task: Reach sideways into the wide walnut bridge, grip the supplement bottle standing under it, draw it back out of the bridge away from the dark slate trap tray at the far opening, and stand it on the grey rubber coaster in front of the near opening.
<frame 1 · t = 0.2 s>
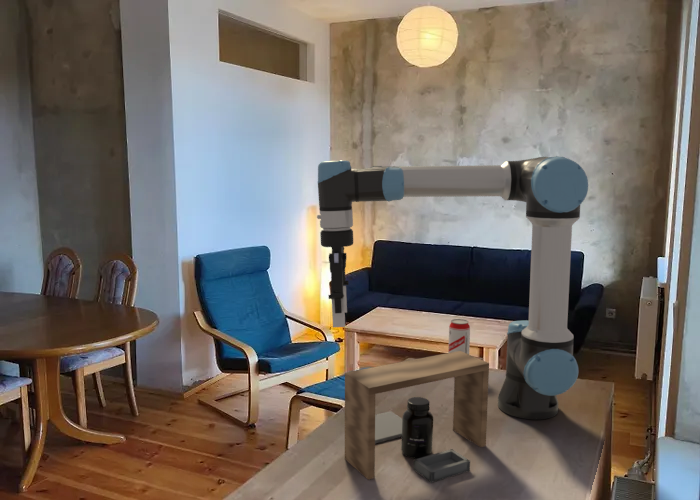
hand: (340, 319, 146), 27 cm above the table, tool pointing down, fingers open, 13 cm apart
coaster: (383, 428, 150), on the table
trap tray: (441, 470, 131), on the table
supplement bottle: (416, 453, 138), on the table
beer can: (458, 373, 189), on the table
mineral rock: (424, 371, 191), on the table
bridge: (416, 452, 138), on the table
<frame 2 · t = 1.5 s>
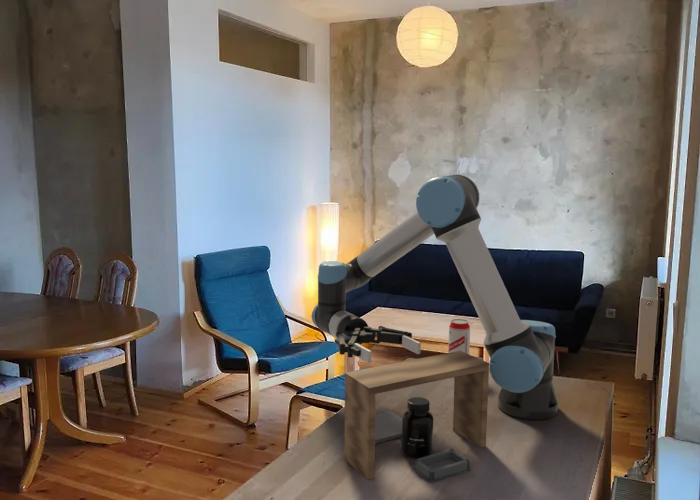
hand: (395, 352, 143), 20 cm above the table, tool horizontal, fingers open, 13 cm apart
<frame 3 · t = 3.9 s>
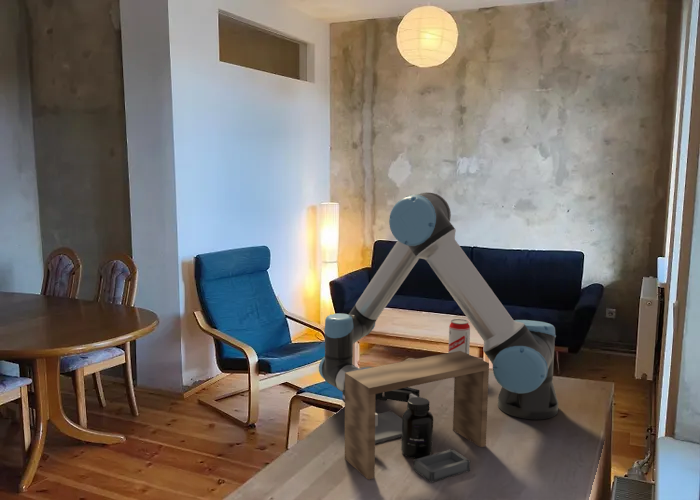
hand: (402, 414, 142), 7 cm above the table, tool horizontal, fingers open, 13 cm apart
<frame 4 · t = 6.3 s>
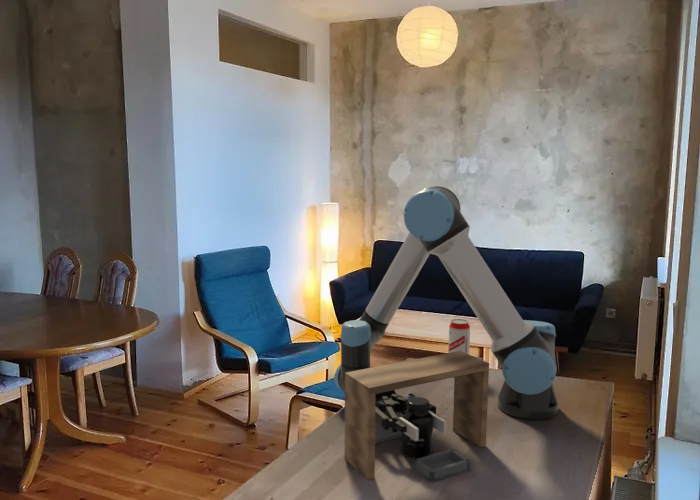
hand: (431, 431, 133), 7 cm above the table, tool horizontal, fingers closed on supplement bottle, 7 cm apart
supplement bottle: (416, 453, 138), on the table, touching gripper
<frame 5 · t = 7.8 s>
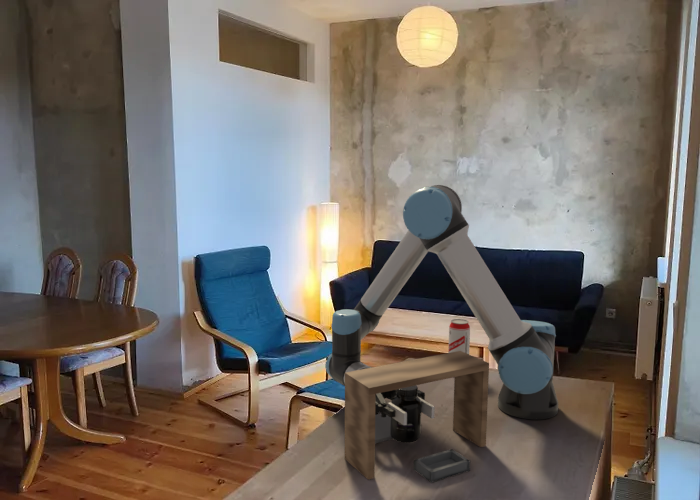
hand: (419, 415, 136), 9 cm above the table, tool horizontal, fingers closed on supplement bottle, 7 cm apart
supplement bottle: (405, 437, 141), point 2 cm above the table, touching gripper
when the fingers open (9 cm above the table, at t = 9.5 s): supplement bottle drops 1 cm, resting on coaster.
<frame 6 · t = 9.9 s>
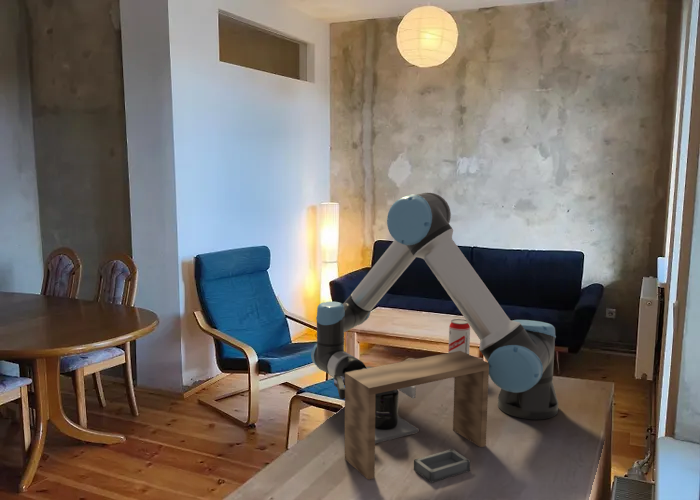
hand: (392, 397, 146), 9 cm above the table, tool horizontal, fingers open, 12 cm apart
supplement bottle: (383, 425, 150), point 1 cm above the table, touching coaster
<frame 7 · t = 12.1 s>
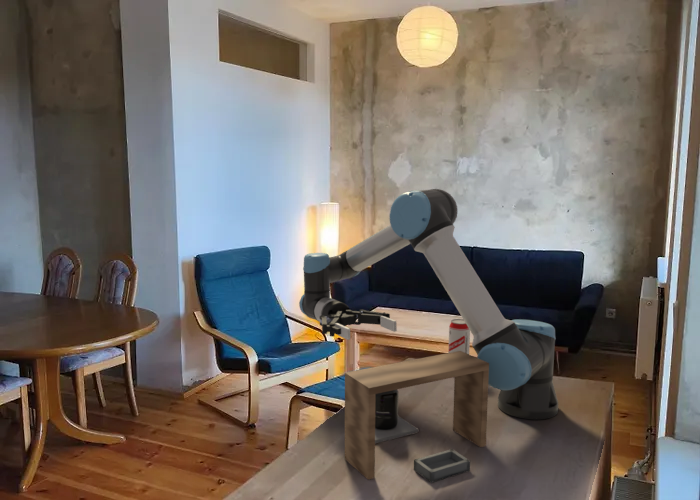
hand: (372, 330, 156), 22 cm above the table, tool horizontal, fingers open, 13 cm apart
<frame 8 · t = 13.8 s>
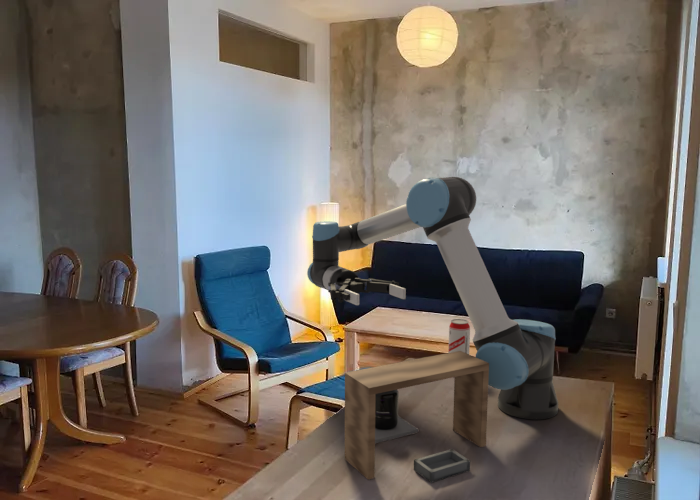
hand: (381, 296, 156), 30 cm above the table, tool horizontal, fingers open, 13 cm apart
at the end: supplement bottle inside the target area on the coaster (0.1 cm from its centre), point 0.6 cm above the coaster's base; supplement bottle tilted 0°; the gripper is holding nothing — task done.
